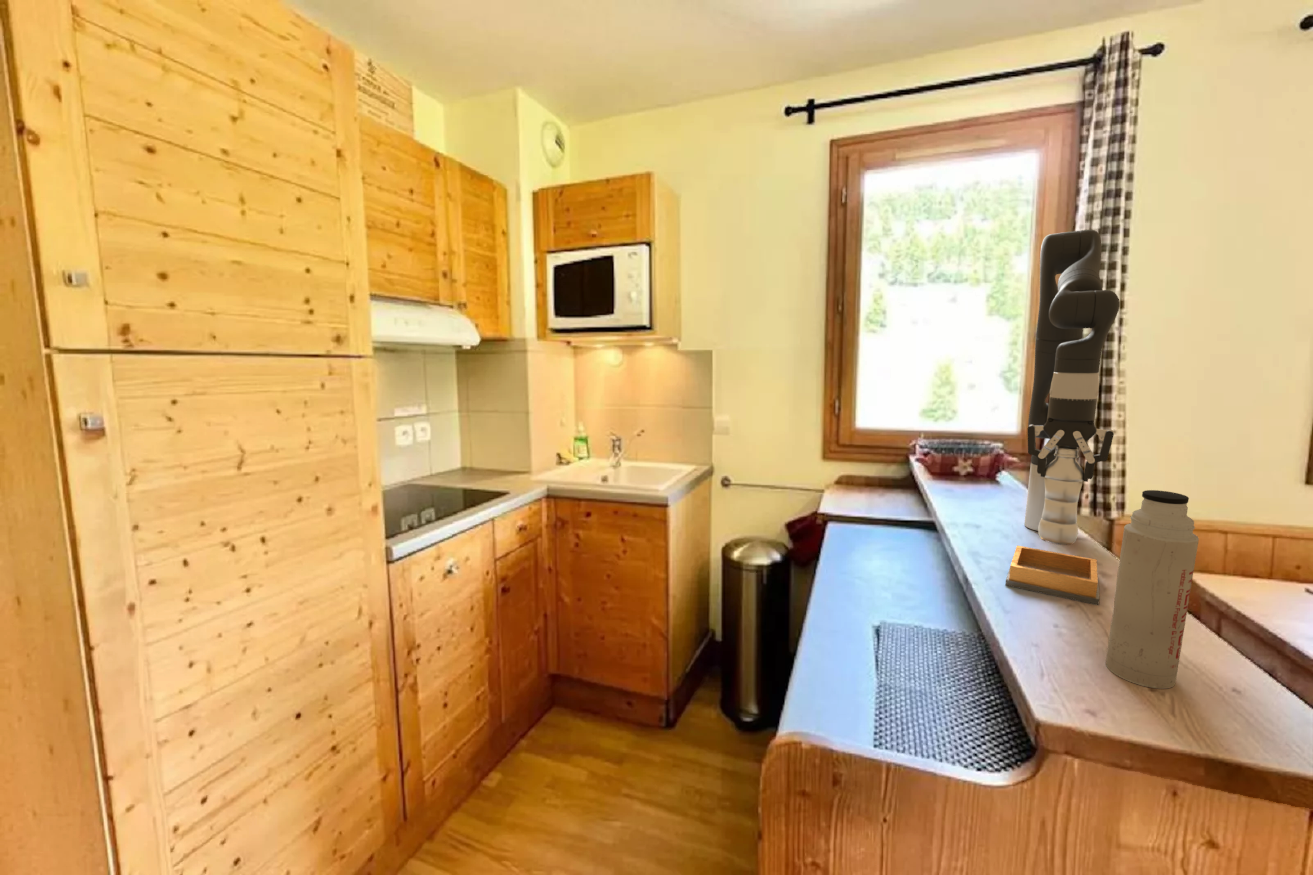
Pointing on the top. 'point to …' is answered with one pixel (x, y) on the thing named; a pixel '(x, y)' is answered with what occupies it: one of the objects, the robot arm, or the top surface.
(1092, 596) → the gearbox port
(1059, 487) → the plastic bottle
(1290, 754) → the top surface
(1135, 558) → the thermos bottle
